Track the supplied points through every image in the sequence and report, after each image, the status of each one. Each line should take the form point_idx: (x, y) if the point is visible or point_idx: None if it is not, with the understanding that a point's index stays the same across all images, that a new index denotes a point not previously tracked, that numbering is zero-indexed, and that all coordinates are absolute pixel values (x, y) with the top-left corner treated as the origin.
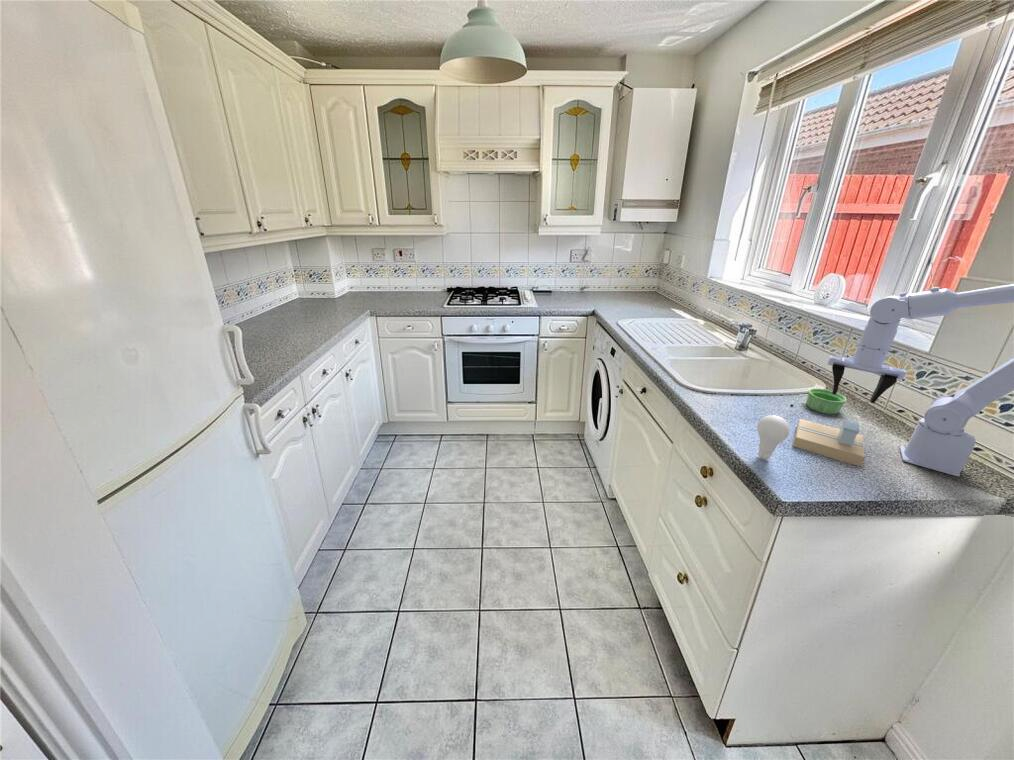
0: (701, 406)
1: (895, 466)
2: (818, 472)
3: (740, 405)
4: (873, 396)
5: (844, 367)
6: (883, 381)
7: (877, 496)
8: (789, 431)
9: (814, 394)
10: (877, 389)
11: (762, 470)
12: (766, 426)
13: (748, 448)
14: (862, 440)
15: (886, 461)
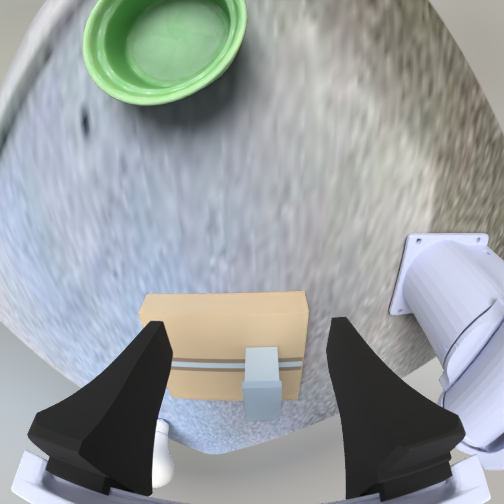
0: (4, 312)
1: (365, 340)
2: (233, 418)
3: (18, 252)
4: (334, 374)
5: (116, 480)
6: (349, 490)
7: (308, 422)
8: (172, 474)
9: (121, 10)
10: (345, 416)
11: (174, 435)
12: None
13: None
14: (304, 341)
15: None
